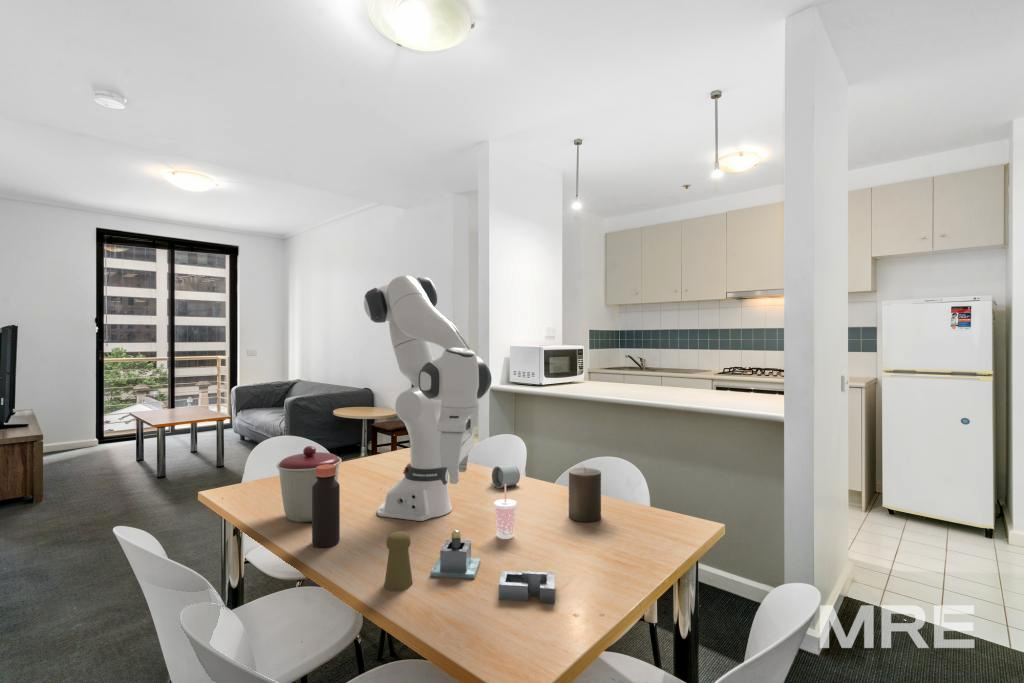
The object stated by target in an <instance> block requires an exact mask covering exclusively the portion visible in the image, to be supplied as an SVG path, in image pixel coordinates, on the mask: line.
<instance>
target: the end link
mask: <svg viewBox="0 0 1024 683" xmlns="http://www.w3.org/2000/svg"><path fill="white" fill-rule="evenodd" d="M439 553H440V554H439V555H440V556H439V557H440V570H442V571H464V572H466V571H467V569H468V566H469V564H470V561H471V558H472V540H461V544H460V549H452V539H446V540H445V541H444V543H443V545H442V546H441V548H440V551H439Z"/></svg>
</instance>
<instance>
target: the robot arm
mask: <svg viewBox="0 0 1024 683" xmlns="http://www.w3.org/2000/svg"><path fill="white" fill-rule="evenodd" d="M437 304H438V291H437V288H436V285H435V284H434V282H433V281H432V280H431V279H430V278H429V277H417V278H414V277H412V276H411V275H404V274H403V275H400V276H396V277H394V278H392V279H391V281H390V282H389V284H385V285H381V286H380V287H374V288H372V289H369V290H367V292H366V293H365V295H364V299H363V308H364V312H365V313H366V315H367V316H368V317H369V319H370V321H372V322H374V323H377V324H378V323H379V324H380V323H386V322H388V326H389V335H390V339H391V340H390V341H391V344H392V347H393V351H394V354H395V358H396V361H397V365H398V368H399V370H400V373H401V374H402V375H403V376H404V377H406V378H407V379H408V380H409V381H410V383H411V384H412V386H413V387H410V388H408V389H406V390H404V391H403V392H401V393H399V395H398V396H397V398H396V399H395V406H394V409H395V413H396V415H397V417H398V418H399V419H400V420H401V421H402V422H403V423H404V425H405V428H406V431H407V432H408V437H409V444H410V462H409V463H408V464H406V466H405V467H404V469H403V470H402V471H403V472H402V473H403V475H404V477H402V479H400V480H398V482H396V483H395V484H394V485H393V486H391V487H390V488H389V489H388V491H387V493H386V496H385V501H384V502H383V503H382V504H381V505H380V506H379V507H378V508H377V516H379V517H385V518H393V519H400V520H409V521H418V522H419V521H420V522H422V521H426V520H428V519H431V518H432V519H433V518H438V517H441V516H445V515H447V514H449V513H450V512H451V511H452V510H453V507H452V504H451V500H450V494H449V489H448V483H449V484H453V485H457V484H458V482H460V481H459V480H460V478H459V473H465V472H467V470H468V461H469V456H470V452H471V451H472V450H473V449H474V446H475V431H474V430H475V428H476V427H478V426H479V406H480V405H479V399H481V398H483V396H485V394H486V393H488V391H489V389H490V388H491V384H492V374H491V371H490V368H489V367H488V366H487V364H486V363H485V361H484V360H482V359H481V357H479V356H478V355H477V353H476V352H475V351H474V350H473V349H472V347H471V346H470V344H469V343H468V342H467V340H466V339H465V337H464V336H463V334H462V332H460V330H459V329H458V328H457V326H456V325H455V324H454V322H452V321H451V320H449V319H448V318H447V317H445V316H444V315H443V314H442V313H441V312H440V311H439V310H438V309H437V308H436V305H437ZM430 343H431V344H434V345H438V346H440V347H442V348H443V349H444V350H443V351H442V355H441V356H440V357H438V358H437V359H435V358H434V355H433V351H432V347H431V345H430Z"/></svg>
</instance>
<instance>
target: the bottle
mask: <svg viewBox="0 0 1024 683" xmlns="http://www.w3.org/2000/svg"><path fill="white" fill-rule="evenodd" d="M335 474H336V466H335V465H332V464H326V465H320V466H317V467H316V478H317V482H316V483H315V484H314V485H313V486H312V522H311V544H312V546H313V547H314V548H319V549H321V548H322V549H323V548H324V549H325V548H329V547H330V548H331V547H333V546H336V545H338V544H339V543H340V538H341V537H340V533H341V532H340V527H341V526H340V522H341V521H340V519H341V518H340V516H341V514H340V511H341V509H340V507H341V506H340V505H341V504H340V500H341V499H340V496H341V495H340V492H341V490H340V489H341V488H340V486H341V485H340V483H339V482H338V480H337V481H336V480H335V476H336V475H335Z"/></svg>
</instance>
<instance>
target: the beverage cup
mask: <svg viewBox="0 0 1024 683" xmlns="http://www.w3.org/2000/svg"><path fill="white" fill-rule="evenodd" d="M493 507H494V509H495V510H494V512H495V524H496V525H495V526H496V527H495V528H496V537H497V538H499V539H501V540H509V539H512V538H514V536H515V522H516V507H517V501H516V500H514V499H510V498H507V487H506V484H505V487H504V498H502V499H501V498H500V499H497V500H495V501H494V502H493Z"/></svg>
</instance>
